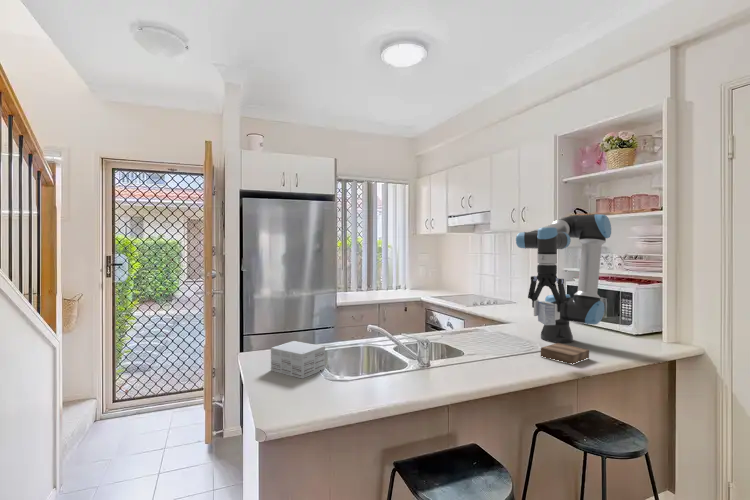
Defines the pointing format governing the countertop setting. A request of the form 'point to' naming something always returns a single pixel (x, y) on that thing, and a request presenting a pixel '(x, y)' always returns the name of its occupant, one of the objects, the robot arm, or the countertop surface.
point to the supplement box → (297, 359)
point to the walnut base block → (564, 353)
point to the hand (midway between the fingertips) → (546, 317)
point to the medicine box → (546, 313)
